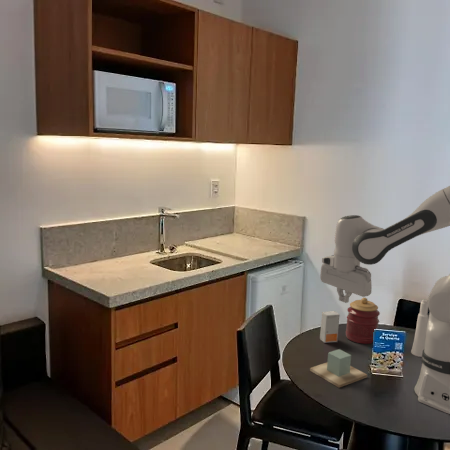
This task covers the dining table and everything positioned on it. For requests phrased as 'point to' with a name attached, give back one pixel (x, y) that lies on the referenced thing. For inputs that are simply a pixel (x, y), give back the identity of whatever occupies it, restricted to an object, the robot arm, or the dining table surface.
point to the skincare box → (329, 326)
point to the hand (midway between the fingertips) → (343, 301)
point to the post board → (334, 379)
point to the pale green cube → (339, 362)
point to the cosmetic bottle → (420, 330)
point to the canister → (362, 321)
